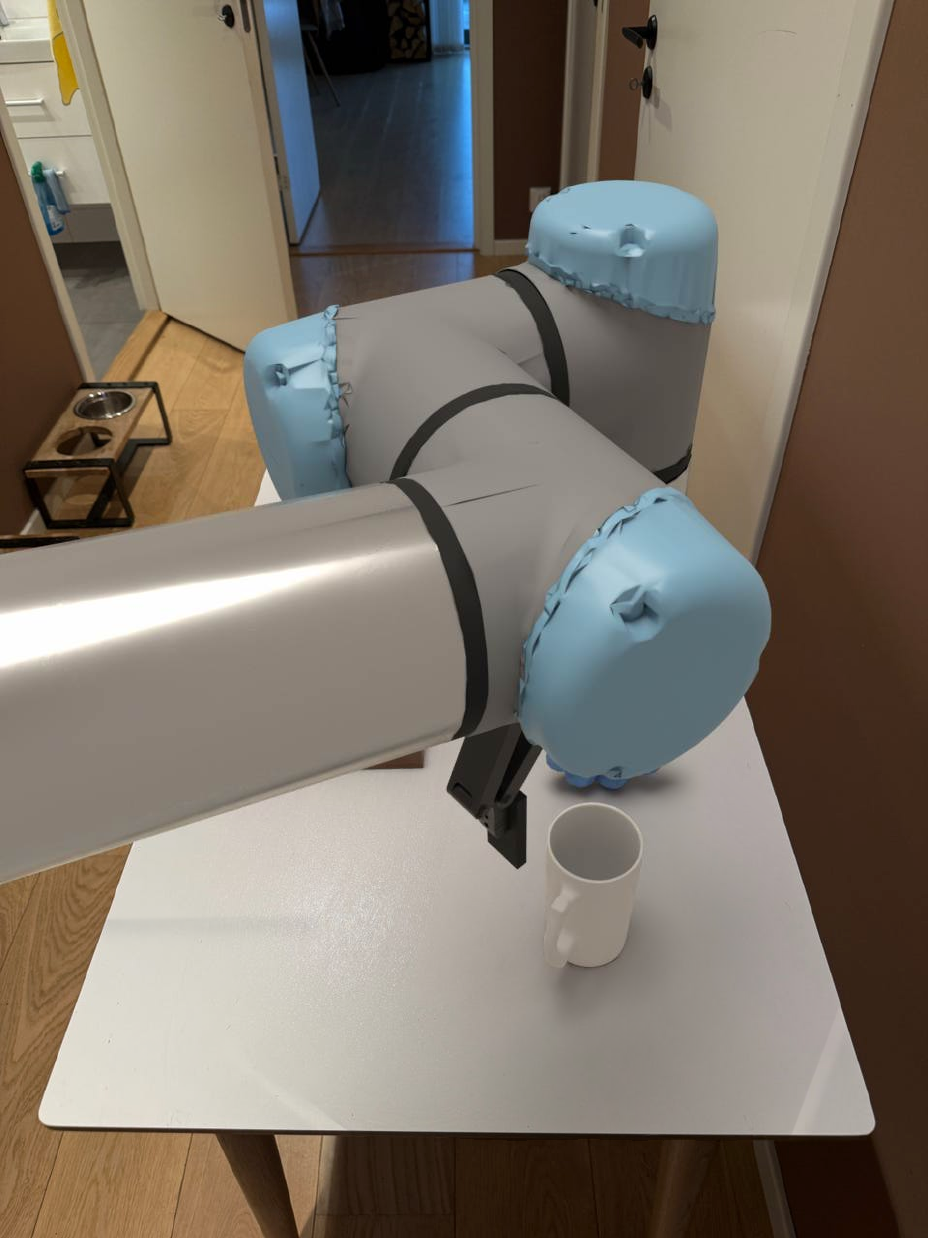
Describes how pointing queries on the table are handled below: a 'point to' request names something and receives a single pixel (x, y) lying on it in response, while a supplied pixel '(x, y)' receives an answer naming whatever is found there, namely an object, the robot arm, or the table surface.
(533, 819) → the table surface
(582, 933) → the mug
